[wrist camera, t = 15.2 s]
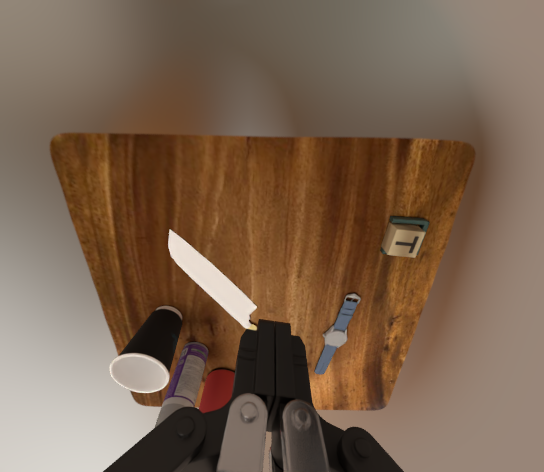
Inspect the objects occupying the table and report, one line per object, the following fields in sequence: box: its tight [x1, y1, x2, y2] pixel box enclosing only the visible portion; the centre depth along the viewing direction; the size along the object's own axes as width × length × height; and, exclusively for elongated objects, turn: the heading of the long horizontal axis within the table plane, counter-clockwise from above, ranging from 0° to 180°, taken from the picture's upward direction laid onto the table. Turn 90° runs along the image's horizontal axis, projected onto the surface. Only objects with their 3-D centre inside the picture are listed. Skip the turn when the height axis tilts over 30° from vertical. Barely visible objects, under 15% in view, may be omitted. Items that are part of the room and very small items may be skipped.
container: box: [155, 342, 208, 427], centre depth 42 cm, size 5×5×15 cm
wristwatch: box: [315, 293, 361, 374], centre depth 47 cm, size 4×20×1 cm, turn 168°
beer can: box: [199, 369, 235, 413], centre depth 47 cm, size 7×7×12 cm
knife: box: [168, 230, 257, 330], centre depth 44 cm, size 1×34×5 cm
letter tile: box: [381, 222, 426, 258], centre depth 37 cm, size 4×4×3 cm
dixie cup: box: [110, 306, 182, 393], centre depth 40 cm, size 8×8×11 cm
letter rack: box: [380, 216, 430, 255], centre depth 38 cm, size 5×6×1 cm
